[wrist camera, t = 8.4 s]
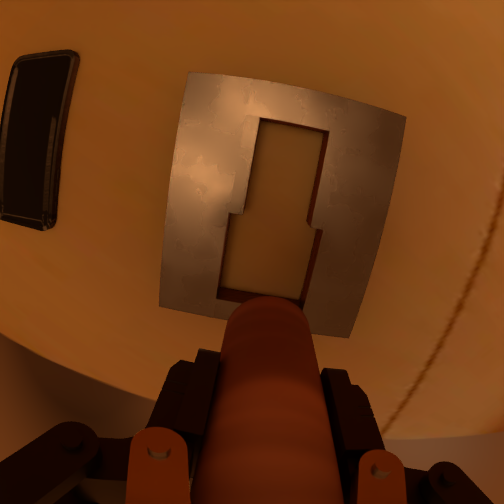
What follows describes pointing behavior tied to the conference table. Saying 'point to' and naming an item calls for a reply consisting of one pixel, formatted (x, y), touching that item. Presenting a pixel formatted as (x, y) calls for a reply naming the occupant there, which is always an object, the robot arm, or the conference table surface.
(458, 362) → the conference table surface
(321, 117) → the keyhole plate
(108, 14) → the conference table surface
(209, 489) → the peg
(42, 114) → the phone
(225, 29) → the conference table surface
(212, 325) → the conference table surface
